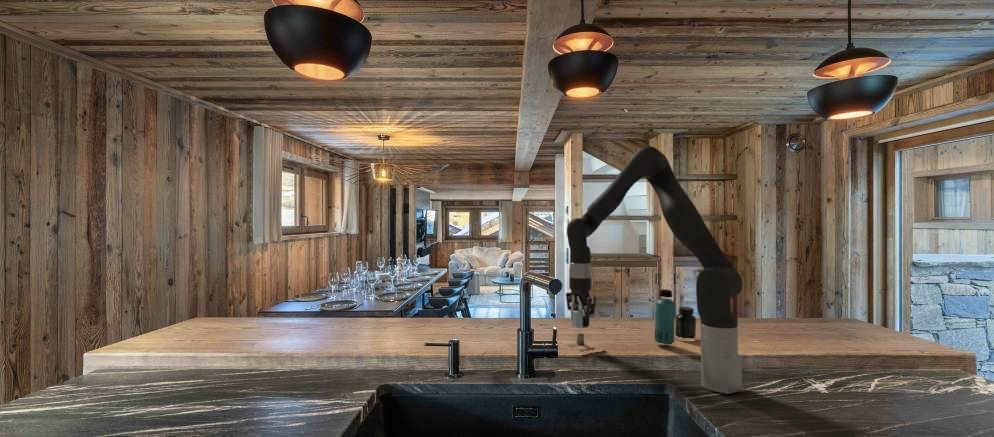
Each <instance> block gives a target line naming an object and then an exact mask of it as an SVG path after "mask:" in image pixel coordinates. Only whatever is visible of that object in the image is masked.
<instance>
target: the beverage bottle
mask: <svg viewBox="0 0 994 437" xmlns="http://www.w3.org/2000/svg"><path fill="white" fill-rule="evenodd" d="M659 296H660V297H661V298H659V299H657V300H656V301H655V314H654V315H655V316H654V318H655V323H654V325H655V326H654V341H656V342H658V343H663V344H672V343H673V344H674V342H675V310H676V306H675V305H676V303H675V302H674V300H672V299H670V298H672V297H673V291H672V290H670V289H664V288H663V289H660V290H659ZM656 342H655V343H656ZM658 343H657V344H658ZM673 344H672V345H673Z"/></svg>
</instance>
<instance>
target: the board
mask: <svg viewBox="0 0 994 437" xmlns="http://www.w3.org/2000/svg"><path fill="white" fill-rule="evenodd" d="M584 340H585V334H584V333H582V332H579V333H578V332H577V333H576V340H575V339H574V340H570V341H569V340H568V341H562V342H559V345H560V344H564V345H566V346H569V347H571V348H574V349H576V350H579V351H581V352H583V351H589V350H594V349H595V348H594V347H593V348H591V347H590V346H588V345H587V344H586V346H585V343H588V342H590V341H589V340H586V341H587V342H585V341H584ZM576 344H577V345H576Z"/></svg>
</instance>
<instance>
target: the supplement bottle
mask: <svg viewBox="0 0 994 437" xmlns="http://www.w3.org/2000/svg"><path fill="white" fill-rule="evenodd" d="M678 308H679V309H678V314H676V316H675V326H674V336H675V335H676V336H678V337H682V338H695V337H697V336H696V335H697V334H696V333H697V332H696V331H697V318H696V316H695V315H694V308H693V307H691V306H679V307H678ZM695 339H696V338H695Z"/></svg>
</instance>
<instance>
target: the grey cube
mask: <svg viewBox="0 0 994 437" xmlns="http://www.w3.org/2000/svg"><path fill="white" fill-rule="evenodd" d="M585 312H586V309H585ZM571 321H572V322H571V324H572V328H576V329H577V328H578V329H585V328H588V327H583V314H582V310H581V309H579V310H573V313H571Z"/></svg>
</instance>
